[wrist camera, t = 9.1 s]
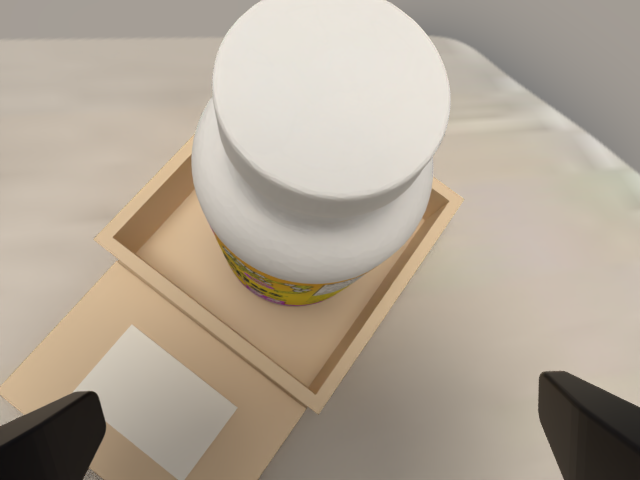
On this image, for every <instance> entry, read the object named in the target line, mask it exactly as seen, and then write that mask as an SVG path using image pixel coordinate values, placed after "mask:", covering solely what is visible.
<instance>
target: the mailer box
mask: <svg viewBox="0 0 640 480" xmlns="http://www.w3.org/2000/svg"><path fill="white" fill-rule="evenodd" d="M194 135H195V134H194ZM194 135H193V136H192V137H191V138H190V139H189V140H188V141H187V142H186V143H185V145H184V146H183V147H182V148H181V149H180V150H179V151H178V152H177V153H176V154H175V155H174V156H173V157H172V158H171V159H170V160H169V161H168V162H167V163H166V164H165V165H164V166H163V167H162V168H161V169H160V170H159V172H158V173H157V174H156V175H155V176H154V177H153V178H152V179H151V180H150V181H149V182H148V183H147V184H146V185H145V186H144V187H143V188H142V189H141V190H140V191H139V192H138V193H137V194H136V195H135V196H134V198H133V199H132V200H131V201H130V202H129V203H128V204H127V205H126V206H125V207H124V208H123V209H122V210H121V211H120V212H119V213H118V214H117V215H116V216H115V217H114V218H113V219H112V220H111V221H110V222H109V223H108V225H107V226H106V227H105V228H104V229H103V230H102V231H101V232H100V233H99V234H98V235H97V236H96V237H95V238H94V239H93V240H95V241H96V242H97V243H98V244H100V245H101V246H102V247H104V248H105V249H106V250H107V251H109V252H110V253H111V254H113V255H114V256H115V257H116V258H118V259H119V260H118V261H116V262H115V263H114V264H113V265H112V266H111V267H110V269H109V270H108V271H107V272H106V273H105V274H104V275H103V276H102V277H101V278H100V279H99V280H98V282H97V283H96V284H95V285H94V286H93V287H92V288H91V289H90V290H89V291H88V292H87V293H86V294H85V296H84V297H83V298H82V299H81V300H80V301H79V302H78V303H77V304H76V305H75V306H74V307H73V308H72V310H71V311H70V312H69V313H68V314H67V315H66V316H65V317H64V318H63V319H62V320H61V321H60V323H59V324H58V325H57V326H56V327H55V328H54V329H53V330H52V331H51V332H50V333H49V334H48V335H47V337H46V338H45V339H44V340H43V341H42V342H41V343H40V344H39V345H38V346H37V347H36V348H35V349H34V351H33V352H32V353H31V354H30V355H29V356H28V357H27V358H26V359H25V360H24V361H23V362H22V364H21V365H20V366H19V367H18V368H17V369H16V370H15V371H14V372H13V373H12V374H11V375H10V376H9V378H8V379H7V380H6V381H5V382H4V383H3V384H2V385H1V386H0V395H1V396H2V397H3V398H4V399H6V400H7V401H8V402H9V403H10V404H12V405H13V406H14V407H15V408H17V409H18V410H19V411H20V412H21V413H23V414H24V415H26V414H28V413H30V412H32V411H34V410H36V409H39V408H41V407H43V406H45V405H47V404H49V403H52V402H54V401H56V400H58V399H60V398H62V397H64V396H67V395H69V394H71V393H73V392H77V391H94V392H96V393H97V395H98V396H99V399H100V403H101V407H102V410H103V414H104V417H105V421H106V432H105V436H104V438H103V440H102V442H101V444H100V446H99V448H98V450H97V452H96V454H95V456H94V458H93V460H92V462H91V464H90V466H89V468H90V469H91V470H93V471H94V472H95V473H96V474H97V475H99V476H100V477H101V478H102V479H104V480H258V479H259V477H260V476H261V474H262V473H263V471H264V470H265V468H266V467H267V465H268V464H269V463H270V461H271V460H272V458H273V457H274V455H275V454H276V452H277V451H278V450H279V448H280V447H281V445H282V444H283V442H284V441H285V439H286V438H287V436H288V435H289V434H290V432H291V431H292V429H293V428H294V426H295V425H296V423H297V422H298V420H299V419H300V418H301V416H302V415H303V413H304V412H305V410H306V408H307V407H309V408H310V409H312V410H313V411H314V412H315V413H317V414H318V415H319V413H320V412H321V410H322V409H323V407H324V406H325V404H326V403H327V401H328V400H329V399H330V397H331V396H332V394H333V393H334V391H335V390H336V388H337V387H338V385H339V384H340V382H341V381H342V379H343V378H344V376H345V375H346V373H347V372H348V370H349V369H350V368H351V366H352V365H353V363H354V362H355V360H356V359H357V357H358V356H359V354H360V353H361V351H362V350H363V348H364V347H365V345H366V344H367V342H368V341H369V339H370V338H371V337H372V335H373V334H374V332H375V331H376V329H377V328H378V326H379V325H380V323H381V322H382V320H383V319H384V317H385V316H386V314H387V313H388V311H389V310H390V308H391V307H392V306H393V304H394V303H395V301H396V300H397V298H398V297H399V295H400V294H401V292H402V291H403V289H404V288H405V286H406V285H407V283H408V282H409V280H410V279H411V277H412V276H413V274H414V273H415V272H416V270H417V269H418V267H419V266H420V264H421V263H422V261H423V260H424V258H425V257H426V255H427V254H428V252H429V251H430V249H431V248H432V246H433V245H434V243H435V242H436V241H437V239H438V238H439V236H440V235H441V233H442V232H443V230H444V229H445V227H446V226H447V224H448V223H449V221H450V220H451V218H452V217H453V215H454V214H455V212H456V211H457V210H458V208H459V207H460V205H461V204H462V202H463V201H464V199H463V198H462V197H461V196H459V195H458V194H456V193H455V192H454V191H452V190H451V189H450V188H448V187H447V186H445V185H444V184H443V183H441V182H440V181H439V180H437V179H436V178H434V177H433V182H432V190H431V194H430V198H429V201H428V205H427V208H426V211H425V213H424V215H423V217H422V219H421V221H420V223H419V224H418V226H417V228H416V230H415V231H414V233H413V234H412V235H411V237H410V238H409V239H408V240H407V241H406V243H405V244H404V245H403V246H402V247H401V248H400V249H399V250H398V251H396V252H395V253H394V254H393V255H392V256H391V257H389V258H388V259H387V260H385V261H384V262H383V263H381V264H380V265H378V266H377V267H376V268H374V269H373V270H371V271H369V272H368V273H367V274H365V275H364V276H362V277H361V278H359V279H358V280H357V281H355V282H354V283H353V284H351V285H349V286H348V287H347V288H345V289H343V290H342V291H340V292H339V293H337V294H336V295H334V296H332V297H331V298H329V299H326V300H324V301H322V302H319V303H316V304H312V305H307V306H298V307H292V306H283V305H278V304H274V303H271V302H269V301H266V300H264V299H262V298H260V297H258V296H257V295H255V294H254V293H252V292H251V291H250V290H248V289H247V288H246V287H245V286H244V285H243V284H242V283H241V282H240V281H239V280H238V278H237V277H236V276H235V274H234V273H233V271H232V270H231V268H230V266H229V264H228V262H227V260H226V258H225V256H224V254H223V252H222V250H221V248H220V246H219V244H218V242H217V240H216V238H215V235H214V233H213V231H212V229H211V227H210V225H209V223H208V221H207V219H206V217H205V215H204V213H203V211H202V208H201V206H200V203H199V201H198V198H197V195H196V191H195V187H194V183H193V176H192V166H191V156H192V146H193V139H194Z"/></svg>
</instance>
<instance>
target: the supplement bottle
mask: <svg viewBox="0 0 640 480" xmlns="http://www.w3.org/2000/svg"><path fill="white" fill-rule="evenodd" d="M449 114H450V86H449V81H448V77H447V72H446V69H445V67H444V64H443V61H442V59H441V57H440V55H439V53H438V51H437V49H436V47H435V46H434V44H433V43H432V41H431V40H430V38H429V37H428V36H427V34H426V33H425V32H424V31H423V29H422V28H421V27H420V26H419V25H418V24H417V23H416V22H415V21H414V20H413V19H412V18H410V17H409V16H408V15H406V14H405V13H404V12H403V11H401V10H400V9H399V8H397V7H396V6H394V5H393V4H392V3H390V2H388V1H386V0H262V1H260V2H259V3H257V4H255V5H254V6H253V7H251V9H249V10H248V11H247V12H245V13H244V14H243V15H242V16H241V17H240V18H239V19H238V20H237V21H236V22H235V23H234V25H233V26H232V27H231V28H230V30H229V31H228V32H227V34H226V36H225V37H224V39H223V41H222V43H221V45H220V47H219V50H218V53H217V56H216V60H215V64H214V68H213V74H212V98H211V99H210V100H209V102H208V103H207V105H206V107H205V109H204V111H203V113H202V115H201V117H200V120H199V122H198V125H197V128H196V132H195V135H194V139H193V146H192V156H191V166H192V176H193V183H194V187H195V191H196V195H197V198H198V201H199V203H200V206H201V208H202V211H203V213H204V215H205V217H206V219H207V221H208V223H209V225H210V227H211V229H212V231H213V233H214V235H215V238H216V240H217V242H218V244H219V246H220V248H221V250H222V252H223V254H224V256H225V258H226V260H227V262H228V264H229V266H230V268H231V270H232V271H233V273H234V274H235V276H236V277H237V278H238V280H239V281H240V282H241V283H242V284H243V285H244V286H245V287H246V288H247V289H248V290H250V291H251V292H252V293H254V294H255V295H257V296H258V297H260V298H262V299H264V300H266V301H269V302H271V303H274V304H278V305H283V306H292V307H298V306H307V305H312V304H316V303H319V302H322V301H324V300H326V299H329V298H331V297H332V296H334V295H336V294H337V293H339V292H340V291H342V290H343V289H345V288H347V287H348V286H349V285H351V284H353V283H354V282H355V281H357V280H358V279H359V278H361V277H362V276H364V275H365V274H367V273H368V272H369V271H371V270H373V269H374V268H376V267H377V266H378V265H380V264H381V263H383V262H384V261H385V260H387V259H388V258H389V257H391V256H392V255H393V254H394V253H395V252H396V251H398V250H399V249H400V248H401V247H402V246H403V245H404V244H405V243H406V241H407V240H408V239H409V238H410V237H411V235H412V234H413V233H414V231H415V230H416V228H417V226H418V224H419V223H420V221H421V219H422V217H423V215H424V213H425V211H426V208H427V205H428V201H429V198H430V194H431V190H432V182H433V156H434V154H435V152H436V151H437V149H438V148H439V146H440V144H441V142H442V139H443V137H444V135H445V132H446V128H447V125H448V120H449Z"/></svg>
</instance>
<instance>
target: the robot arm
mask: <svg viewBox="0 0 640 480" xmlns="http://www.w3.org/2000/svg"><path fill="white" fill-rule="evenodd" d="M538 412H539V418H540V422H541V425H542V427H543V430H544V432H545V435H546V437H547V439H548V442H549V444H550V447H551V449H552V452H553V454H554V457H555V459H556V461H557V464H558V466H559V469H560V471H561V474H562V476H563V478H564V480H640V407H638V406H636V405H634V404H632V403H630V402H628V401H626V400H624V399H621V398H619V397H617V396H615V395H613V394H611V393H609V392H607V391H605V390H603V389H601V388H599V387H597V386H595V385H592V384H590V383H588V382H586V381H584V380H582V379H580V378H578V377H576V376H574V375H572V374H570V373H568V372H565V371H546V372H542V373H541V374H540V377H539V398H538ZM105 432H106V421H105V417H104V414H103V410H102V407H101V403H100V399H99V396H98V395H97V393H96V392H94V391H77V392H73V393H71V394H69V395H67V396H64V397H62V398H60V399H58V400H56V401H54V402H52V403H49V404H47V405H45V406H43V407H41V408H39V409H36V410H34V411H32V412H30V413H28V414H26V415H24V416H21V417H19V418H17V419H15V420H13V421H11V422H8V423H6V424H4V425H2V426H0V480H83V478H84V476H85V474H86V472H87V470H88V468H89V466H90V464H91V462H92V460H93V458H94V456H95V454H96V452H97V450H98V448H99V446H100V444H101V442H102V440H103V438H104V436H105Z"/></svg>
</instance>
